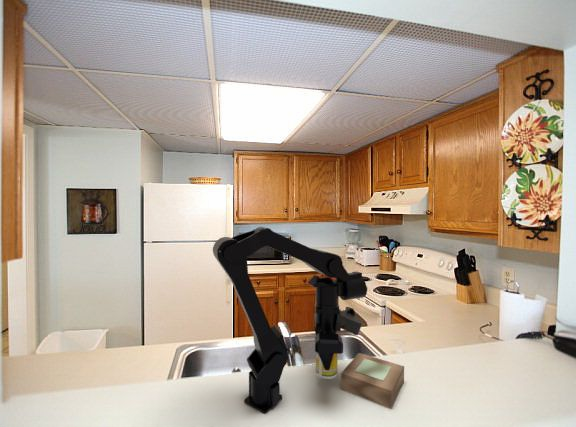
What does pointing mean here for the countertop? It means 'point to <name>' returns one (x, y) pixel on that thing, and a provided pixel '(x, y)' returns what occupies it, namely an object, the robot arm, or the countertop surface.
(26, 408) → the countertop surface
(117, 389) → the countertop surface
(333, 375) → the supplement bottle
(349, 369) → the walnut riser
